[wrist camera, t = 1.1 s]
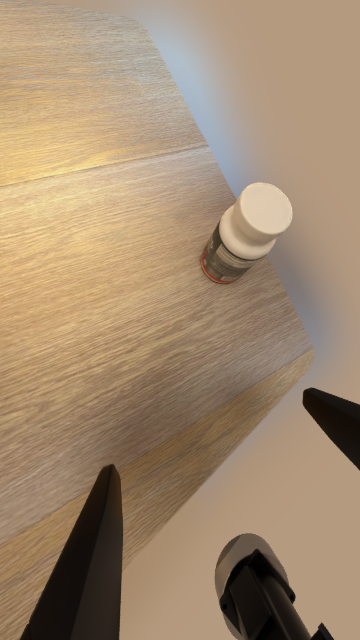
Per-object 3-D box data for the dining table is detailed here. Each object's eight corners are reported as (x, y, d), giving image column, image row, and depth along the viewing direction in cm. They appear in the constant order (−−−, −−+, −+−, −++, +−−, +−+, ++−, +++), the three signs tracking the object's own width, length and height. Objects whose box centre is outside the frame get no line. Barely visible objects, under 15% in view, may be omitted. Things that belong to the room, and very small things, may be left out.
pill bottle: (213, 236, 25) (253, 163, 16) (248, 259, 26) (309, 202, 16) (191, 268, 24) (221, 211, 14) (229, 293, 24) (283, 252, 14)
